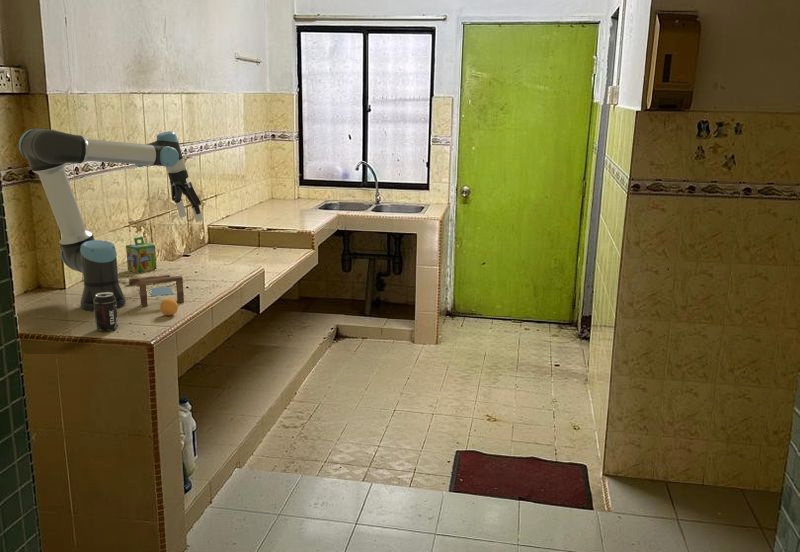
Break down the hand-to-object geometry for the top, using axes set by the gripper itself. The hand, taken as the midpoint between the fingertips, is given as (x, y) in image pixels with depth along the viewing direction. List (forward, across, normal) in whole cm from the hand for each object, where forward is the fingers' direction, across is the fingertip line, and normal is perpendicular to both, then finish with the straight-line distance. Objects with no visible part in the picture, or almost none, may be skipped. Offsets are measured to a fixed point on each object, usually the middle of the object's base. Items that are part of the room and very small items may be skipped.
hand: (191, 218), depth 293 cm
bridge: (+17, -28, +34) cm, 47 cm away
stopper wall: (+20, +5, +24) cm, 31 cm away
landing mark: (+19, -10, +28) cm, 36 cm away
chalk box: (+23, +29, +16) cm, 40 cm away
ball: (+13, -43, +38) cm, 58 cm away
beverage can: (+10, -44, +60) cm, 75 cm away
